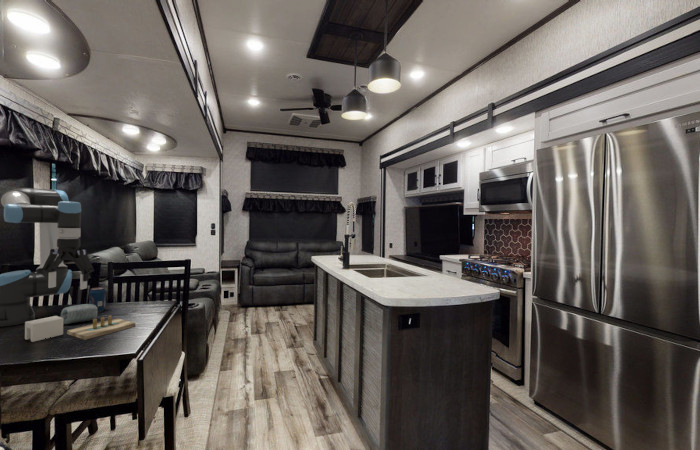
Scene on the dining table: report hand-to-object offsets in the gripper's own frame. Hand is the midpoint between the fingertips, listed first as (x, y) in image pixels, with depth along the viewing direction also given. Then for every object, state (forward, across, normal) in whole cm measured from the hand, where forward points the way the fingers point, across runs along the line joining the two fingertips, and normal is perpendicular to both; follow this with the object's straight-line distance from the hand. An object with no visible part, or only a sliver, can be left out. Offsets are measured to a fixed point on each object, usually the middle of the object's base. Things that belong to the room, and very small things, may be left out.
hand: (67, 288), depth 139 cm
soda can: (+20, -15, +34) cm, 43 cm away
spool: (+20, -9, +16) cm, 27 cm away
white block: (+20, -6, -3) cm, 21 cm away
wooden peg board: (+20, +10, +7) cm, 23 cm away
